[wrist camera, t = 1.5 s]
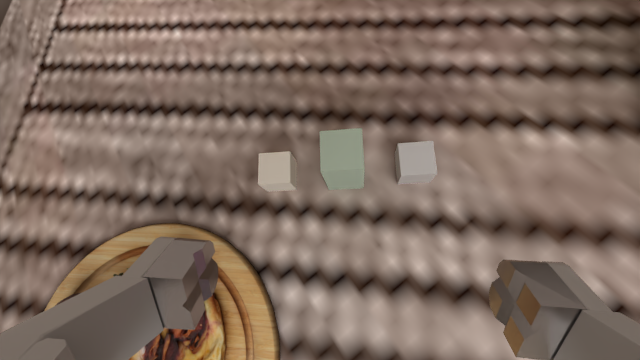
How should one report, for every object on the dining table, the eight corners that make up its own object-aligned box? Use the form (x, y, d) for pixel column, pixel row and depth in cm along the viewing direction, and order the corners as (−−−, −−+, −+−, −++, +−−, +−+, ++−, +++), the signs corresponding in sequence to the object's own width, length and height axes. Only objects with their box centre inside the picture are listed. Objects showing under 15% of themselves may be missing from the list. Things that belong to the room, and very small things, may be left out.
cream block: (296, 161, 41) (290, 151, 37) (297, 190, 40) (290, 182, 36) (268, 163, 41) (258, 153, 38) (267, 191, 40) (257, 184, 37)
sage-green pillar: (361, 155, 40) (361, 127, 32) (363, 188, 39) (364, 168, 31) (327, 157, 40) (319, 131, 32) (328, 189, 39) (320, 171, 31)
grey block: (426, 152, 39) (432, 140, 35) (429, 182, 38) (437, 173, 34) (394, 154, 39) (397, 143, 36) (397, 184, 38) (401, 175, 35)
